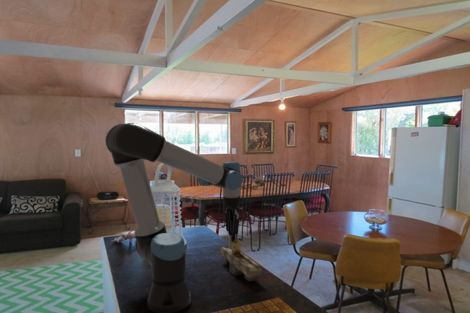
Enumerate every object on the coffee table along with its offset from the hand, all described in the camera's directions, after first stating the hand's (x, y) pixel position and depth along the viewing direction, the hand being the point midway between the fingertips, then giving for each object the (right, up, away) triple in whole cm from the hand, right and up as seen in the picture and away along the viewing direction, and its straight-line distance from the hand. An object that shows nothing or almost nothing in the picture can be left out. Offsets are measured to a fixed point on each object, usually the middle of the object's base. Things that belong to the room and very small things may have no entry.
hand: (232, 248), depth 146 cm
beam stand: (+3, -9, -6) cm, 11 cm away
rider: (+2, -2, -4) cm, 5 cm away
